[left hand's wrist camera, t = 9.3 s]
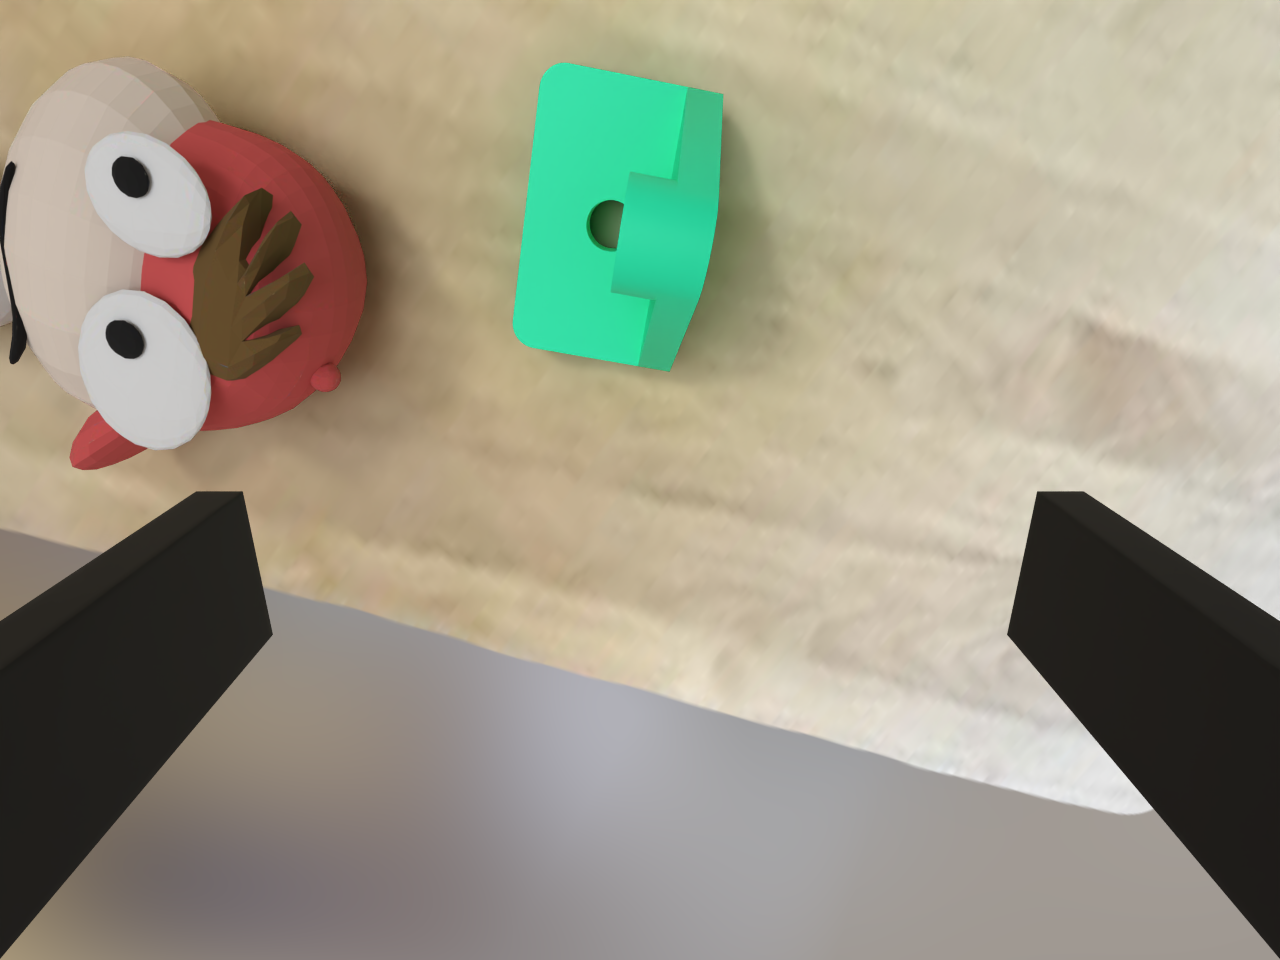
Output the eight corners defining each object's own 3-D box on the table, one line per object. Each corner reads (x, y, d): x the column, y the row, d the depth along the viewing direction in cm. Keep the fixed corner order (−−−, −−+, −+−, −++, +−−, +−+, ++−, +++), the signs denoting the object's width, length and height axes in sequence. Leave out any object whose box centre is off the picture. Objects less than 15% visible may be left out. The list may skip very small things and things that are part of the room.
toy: (-585, -202, 23) (310, 152, 24) (-205, -99, 32) (433, 154, 33) (-424, 339, 31) (246, 596, 31) (-155, 297, 40) (360, 496, 41)
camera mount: (549, 68, 33) (513, 13, 23) (716, 101, 33) (749, 61, 24) (518, 334, 37) (477, 381, 27) (667, 360, 37) (677, 415, 28)
